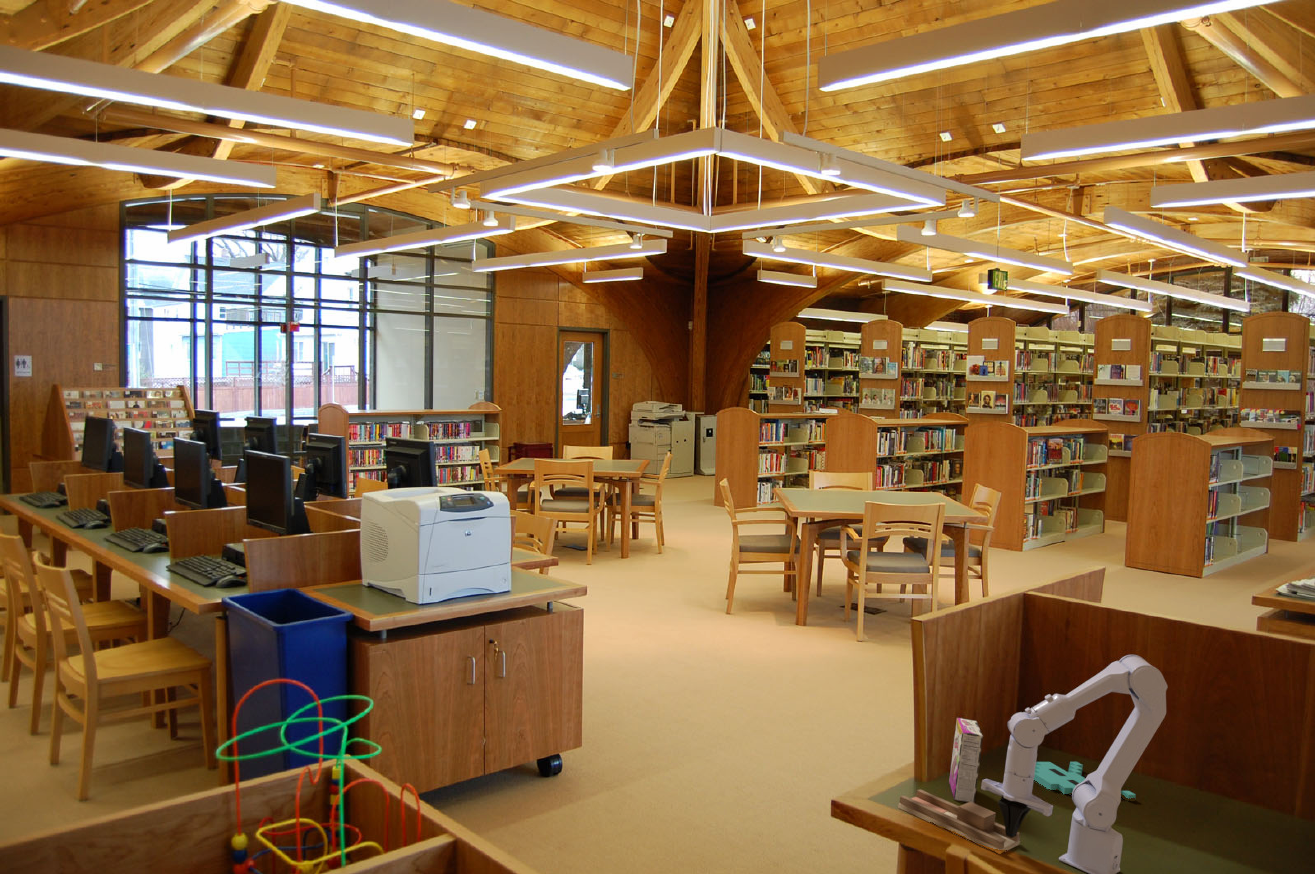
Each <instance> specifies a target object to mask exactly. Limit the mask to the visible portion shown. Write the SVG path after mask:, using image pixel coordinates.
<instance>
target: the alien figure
mask: <svg viewBox="0 0 1315 874" xmlns="http://www.w3.org/2000/svg"><path fill="white" fill-rule="evenodd" d="M1083 767H1084V764H1081V763H1080V762H1078V761H1070V762H1069V767H1068V771H1066V770H1065V769H1063V768H1061V767H1059V766H1058V765H1056V764H1054V763H1052V762H1050V761H1036V766H1035V774H1034V780H1035V781H1037V782H1038V783H1039V784H1038V783H1037V782H1036V783H1037V784H1038V785H1040V784H1041V785H1040V786H1042V785H1043V786H1044V788H1045V787H1046V788H1045V789H1047V790H1048V789H1050V790H1056V789H1058V790H1059V791H1061V792H1062V793H1063V794H1062V793H1061V794H1062V795H1064V794H1069V793H1072V792H1073V789H1074V788H1075V786H1076V785H1078V784H1079V783H1081V782H1083V781H1084V780H1085V779H1086V778H1085V776H1082V773H1083ZM1035 781H1034V782H1035ZM1043 786H1042V787H1043ZM1050 790H1049V791H1050ZM1059 791H1058V792H1059ZM1121 794H1122V795H1124V796H1125V797H1126V798H1128V799H1129V798H1130V799H1131V798H1135V799H1136V796H1137V795H1136V793H1134V792H1131V791H1130V790H1121ZM1069 795H1070V794H1069Z"/></svg>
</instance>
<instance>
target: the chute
mask: <svg viewBox="0 0 1315 874" xmlns="http://www.w3.org/2000/svg"><path fill="white" fill-rule="evenodd" d="M959 806H960V805H957V804H954V803H953V802H950V801H948V800H945V799H944V798H941V797H938V796H937V795H934V794H932V793H929V792H927V791H926V790H923V789H917V790H916V796H914V797H908V796H907V795H901V796H899V802H898V809H900V810H901V811H905V812H906V813H909V814H911V815H913V816H915V817H917V818H919V819H922V820H924V821H926V822H929V823H930V822H933V823H934V824H936V825H938V826H937V827H939V826H942V827H945V828H946V829H948V830H951V831H955V832H956V833H958V834H960V835H962V836H965V837H966V838H967V839H969V840H972V841H973V842H975V843H978V844H981V845H984V846H987V847H990V848H993V849H998V850H1007V851H1009V850H1011V849H1013V848H1015V847H1017V846H1019V845H1020V843H1021V839H1020V837H1021V833H1020V832H1019V831H1018V832H1017V834H1016V836H1015V837H1013V838H1010V837H1008V836H1006V832H1005V825H1002V824H1000V823H998V822H996V821H995V823H994V830H993V831H992V832H990V833H986V832H984V831H982V830H980V829H977V828H975V827H973V826H971V825H968V824H966V823H964V822H962V821H960V820H957V814H958V807H959ZM934 824H933V825H934ZM936 825H935V826H936ZM967 839H966V840H967ZM969 840H968V841H969ZM973 842H972V843H973ZM975 843H974V844H975Z"/></svg>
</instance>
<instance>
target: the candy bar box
mask: <svg viewBox="0 0 1315 874" xmlns="http://www.w3.org/2000/svg"><path fill="white" fill-rule="evenodd" d="M955 723H956V724H955V731H954V737H953V746H952V747H953V748H952V755H951V756H952V757H951V763H950V769H949V770H950V773H949V780H948V783H949V786H950V790H951V793H952V796H953V800H955V801H957V802H962V803H968V802H972V803H974V804H976V803H975V801H976V793H977V788H978V787H977V785H978V779H979V777H978V776H979V770H980V762H981V754H982V746H983V745H982V744H983V737H984V735H983V733H982V732H981V729H980V726H979V724H978V721H977V720H973V719H967V718H963V717H956V722H955Z"/></svg>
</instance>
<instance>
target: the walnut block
mask: <svg viewBox="0 0 1315 874" xmlns="http://www.w3.org/2000/svg"><path fill="white" fill-rule="evenodd" d="M958 806H959V807H958V814H957V820H960V821H962V822H964V823H966V824H968V825H971V826H973V827H975V828H977V829H980V830H982V831H984V832H986V833H990V832H992V831H993V830H994V823H995V822H996V813H997V812H995V811H992V810H990V809H988V808H986V807H983V806H981V805H979V804H978V803H972V802H968V803H967V802H965V803H964V804H961V805H958Z"/></svg>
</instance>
